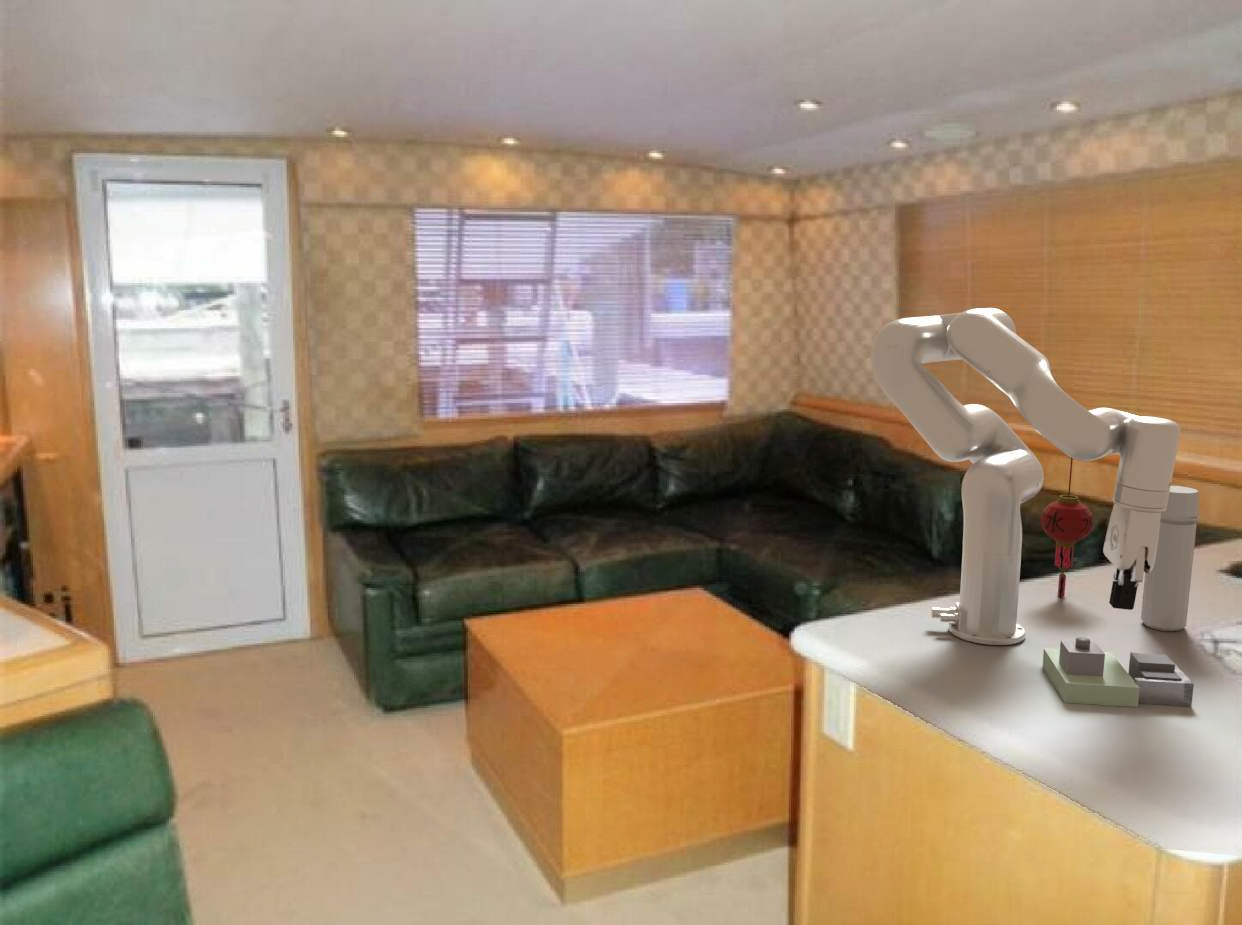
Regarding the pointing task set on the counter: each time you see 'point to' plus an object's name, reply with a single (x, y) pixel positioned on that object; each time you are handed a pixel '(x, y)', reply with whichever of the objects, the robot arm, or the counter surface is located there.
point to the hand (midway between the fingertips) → (1121, 606)
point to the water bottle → (1172, 563)
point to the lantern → (1066, 529)
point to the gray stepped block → (1152, 667)
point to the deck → (1089, 675)
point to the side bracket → (1166, 690)
